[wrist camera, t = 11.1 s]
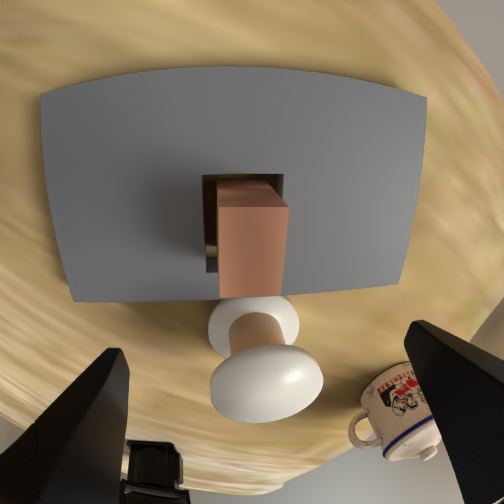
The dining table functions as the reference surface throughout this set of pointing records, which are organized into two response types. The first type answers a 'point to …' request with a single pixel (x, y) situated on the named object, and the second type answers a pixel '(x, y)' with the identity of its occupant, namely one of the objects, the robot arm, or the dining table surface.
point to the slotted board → (228, 162)
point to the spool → (260, 360)
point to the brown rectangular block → (250, 238)
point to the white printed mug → (397, 416)
